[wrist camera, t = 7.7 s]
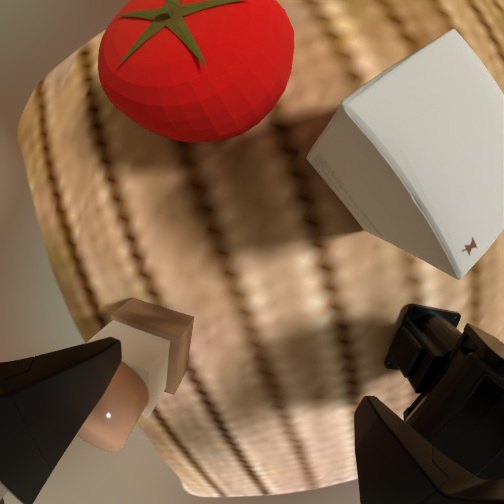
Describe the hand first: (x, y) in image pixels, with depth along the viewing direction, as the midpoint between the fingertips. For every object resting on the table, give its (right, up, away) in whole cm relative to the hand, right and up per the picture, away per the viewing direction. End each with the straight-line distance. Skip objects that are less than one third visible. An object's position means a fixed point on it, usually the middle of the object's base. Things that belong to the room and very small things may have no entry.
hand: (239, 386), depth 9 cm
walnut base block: (-8, -3, +15) cm, 17 cm away
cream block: (-9, -4, +11) cm, 15 cm away
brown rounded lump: (-9, -5, +7) cm, 12 cm away
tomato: (-3, +18, +10) cm, 20 cm away
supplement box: (+9, +11, +10) cm, 18 cm away
